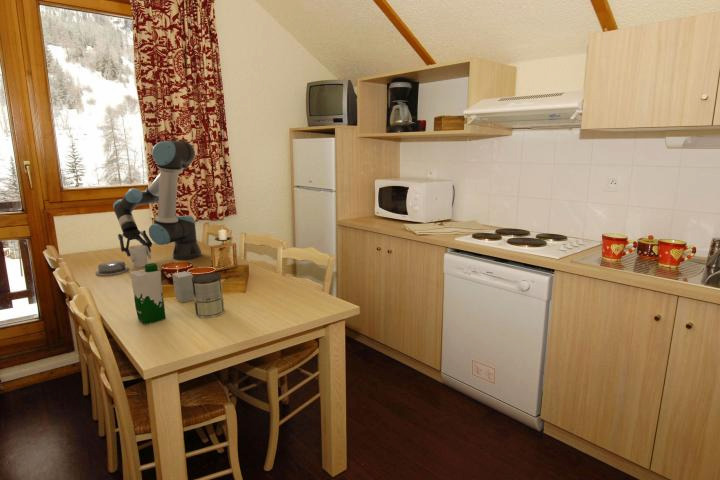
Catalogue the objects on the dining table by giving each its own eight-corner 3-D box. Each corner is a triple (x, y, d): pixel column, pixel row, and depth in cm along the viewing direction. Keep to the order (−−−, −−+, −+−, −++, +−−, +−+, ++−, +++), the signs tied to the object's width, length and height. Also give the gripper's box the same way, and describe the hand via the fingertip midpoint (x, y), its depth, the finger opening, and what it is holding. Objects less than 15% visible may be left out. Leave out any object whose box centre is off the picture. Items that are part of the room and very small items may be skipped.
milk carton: (169, 318, 164) (162, 265, 159) (143, 326, 157) (135, 271, 153) (159, 313, 170) (152, 261, 165) (134, 320, 164) (126, 266, 159)
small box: (196, 299, 183) (193, 274, 181) (182, 303, 180) (179, 277, 177) (188, 295, 189) (185, 270, 187) (175, 298, 186) (172, 273, 183)
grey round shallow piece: (133, 266, 237) (132, 259, 236) (121, 275, 222) (120, 267, 222) (104, 268, 236) (102, 261, 235) (89, 276, 221) (88, 268, 220)
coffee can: (190, 314, 167) (185, 277, 164) (214, 306, 175) (210, 271, 172) (205, 320, 161) (201, 282, 158) (230, 311, 169) (226, 275, 166)
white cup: (151, 263, 243) (149, 245, 241) (143, 267, 235) (140, 248, 233) (137, 263, 244) (135, 245, 242) (129, 267, 236) (126, 248, 234)
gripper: (147, 226, 254) (160, 259, 246) (106, 232, 241) (119, 267, 232) (149, 218, 249) (163, 251, 241) (107, 223, 236) (121, 258, 227)
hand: (141, 258), depth 236 cm, fingers closed on white cup, 8 cm apart
